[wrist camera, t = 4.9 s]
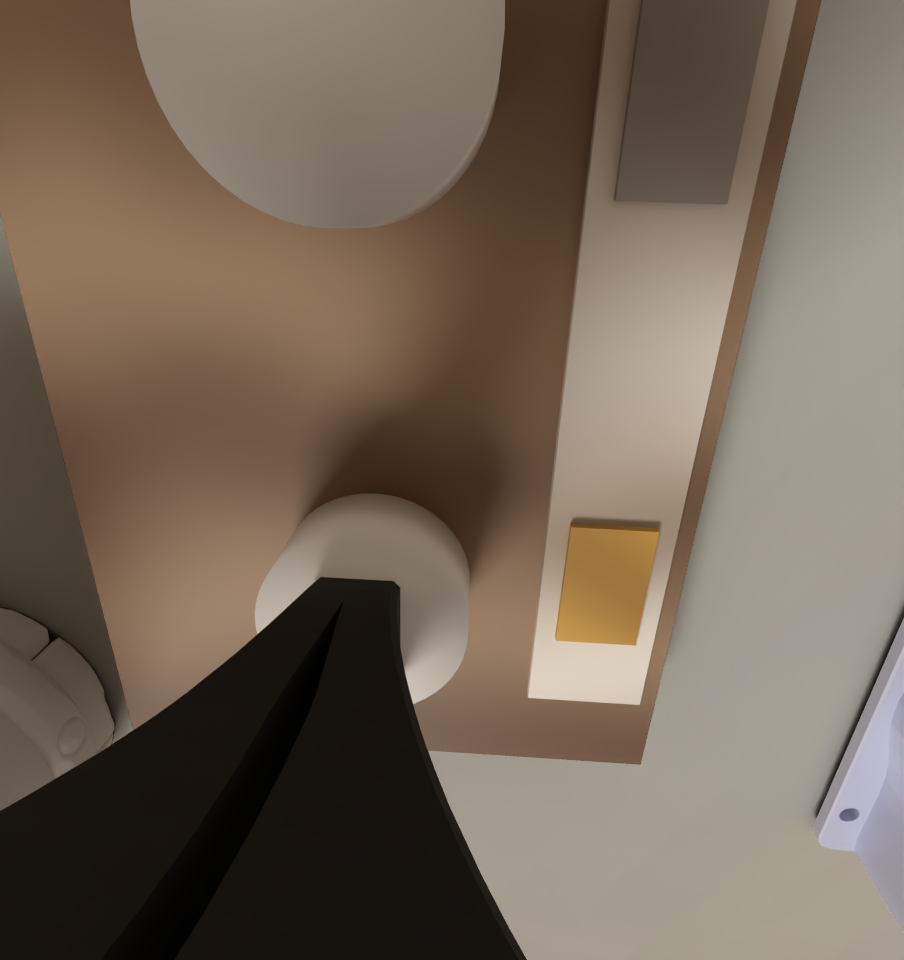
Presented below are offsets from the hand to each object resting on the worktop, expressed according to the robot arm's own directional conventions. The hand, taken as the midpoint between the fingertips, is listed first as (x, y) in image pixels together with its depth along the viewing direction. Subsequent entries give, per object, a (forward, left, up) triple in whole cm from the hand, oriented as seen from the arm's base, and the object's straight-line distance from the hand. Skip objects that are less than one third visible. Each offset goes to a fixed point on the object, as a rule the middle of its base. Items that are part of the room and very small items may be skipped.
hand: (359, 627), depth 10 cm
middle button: (+8, 0, 0) cm, 8 cm away
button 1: (0, 0, -2) cm, 2 cm away
